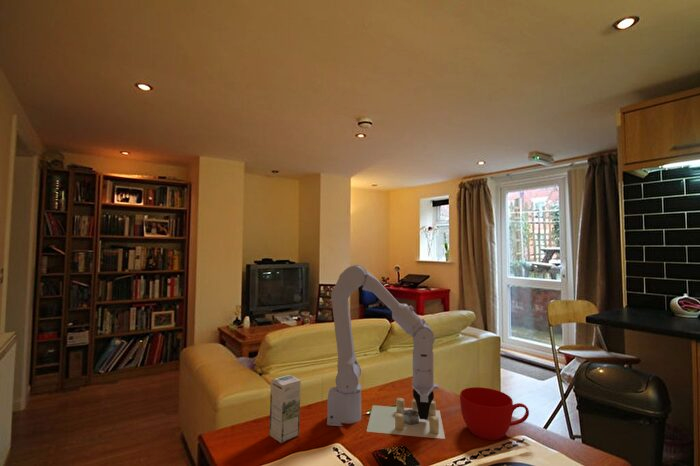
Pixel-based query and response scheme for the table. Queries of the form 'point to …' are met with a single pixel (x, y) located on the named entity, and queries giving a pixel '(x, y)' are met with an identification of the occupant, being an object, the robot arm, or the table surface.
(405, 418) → the grey faceted polyhedron
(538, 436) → the table surface
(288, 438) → the syrup box
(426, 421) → the board
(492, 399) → the ceramic cup
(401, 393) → the table surface
